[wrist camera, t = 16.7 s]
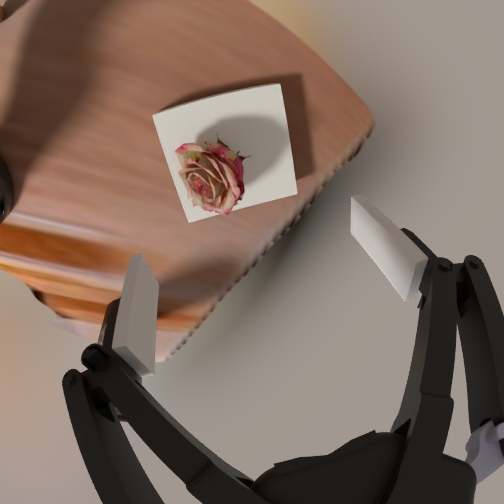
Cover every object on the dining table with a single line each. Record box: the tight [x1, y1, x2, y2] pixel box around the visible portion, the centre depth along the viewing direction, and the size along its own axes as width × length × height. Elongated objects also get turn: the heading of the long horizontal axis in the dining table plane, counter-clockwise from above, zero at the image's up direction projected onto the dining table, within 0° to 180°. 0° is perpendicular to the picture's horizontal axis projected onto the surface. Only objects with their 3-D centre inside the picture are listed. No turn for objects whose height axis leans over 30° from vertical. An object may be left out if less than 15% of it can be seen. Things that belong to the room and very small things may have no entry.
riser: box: [152, 83, 297, 223], centre depth 35 cm, size 16×16×4 cm
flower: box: [175, 136, 252, 215], centre depth 31 cm, size 10×9×8 cm
